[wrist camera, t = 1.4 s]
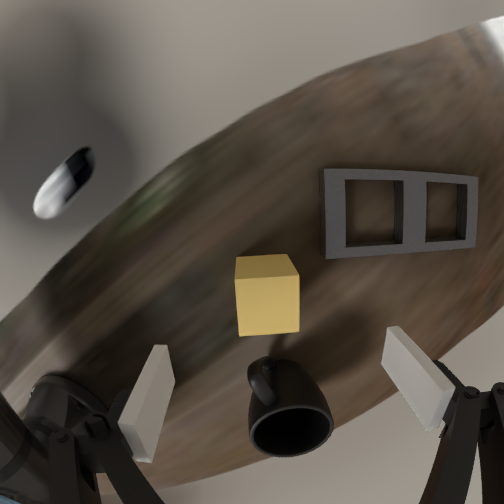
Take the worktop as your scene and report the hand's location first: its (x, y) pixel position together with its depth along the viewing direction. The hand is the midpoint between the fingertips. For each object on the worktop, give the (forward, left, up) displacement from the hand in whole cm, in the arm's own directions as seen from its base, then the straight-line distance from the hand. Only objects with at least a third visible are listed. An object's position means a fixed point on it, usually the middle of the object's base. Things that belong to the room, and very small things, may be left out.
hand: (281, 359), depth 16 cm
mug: (+1, -11, -15) cm, 18 cm away
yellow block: (0, 0, -14) cm, 15 cm away
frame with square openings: (+16, +6, -14) cm, 22 cm away
